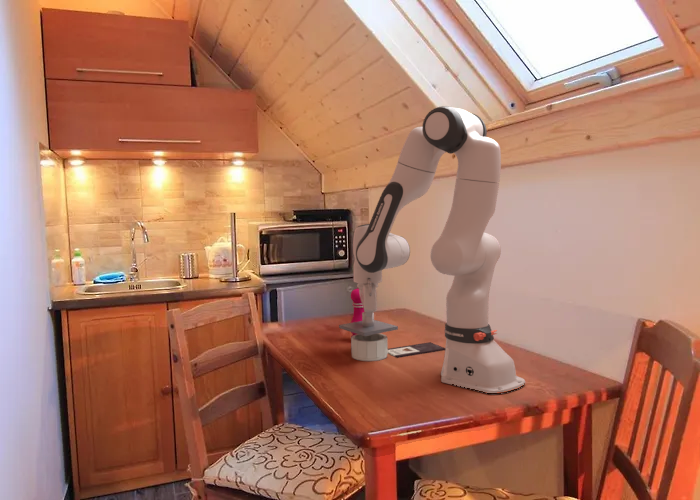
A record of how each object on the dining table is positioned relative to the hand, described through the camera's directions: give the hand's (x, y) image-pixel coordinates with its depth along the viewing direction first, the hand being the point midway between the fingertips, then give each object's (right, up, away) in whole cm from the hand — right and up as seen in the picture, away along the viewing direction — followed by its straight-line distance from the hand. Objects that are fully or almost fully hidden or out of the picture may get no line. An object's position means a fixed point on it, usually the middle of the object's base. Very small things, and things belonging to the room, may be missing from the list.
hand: (368, 320), depth 163 cm
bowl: (0, -11, +1) cm, 11 cm away
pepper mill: (-2, -10, +20) cm, 22 cm away
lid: (0, -3, 0) cm, 3 cm away
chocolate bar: (+15, -11, +6) cm, 20 cm away
